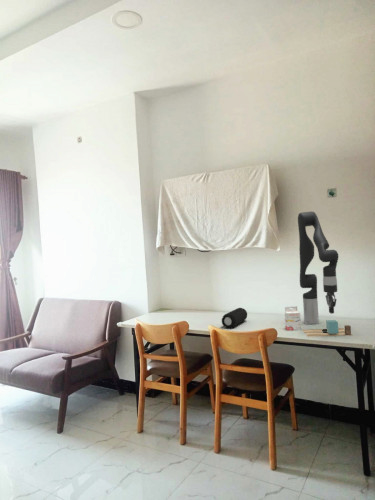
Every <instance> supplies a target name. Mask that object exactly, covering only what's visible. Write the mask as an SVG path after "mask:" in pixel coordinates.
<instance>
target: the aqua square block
mask: <svg viewBox="0 0 375 500" xmlns="http://www.w3.org/2000/svg"><path fill="white" fill-rule="evenodd" d="M325 325H326V328H325V329H327V332H328V333H329V334H331V333H338V328H339V322H338V320H336V319H326V322H325Z"/></svg>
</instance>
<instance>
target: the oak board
mask: <svg viewBox="0 0 375 500" xmlns="http://www.w3.org/2000/svg"><path fill="white" fill-rule="evenodd" d="M323 329H324V328H314V329H313V328H311V329H310V328H309V329H307V328H306V329H302V332H303V333H304V334H305V335H306V336H307V337H308V338H315V337H336V336H340V337H341V336H347V335H346V334H345V327H344V328H343V327H338V333H336V334H334V335H331V334H329V333H323V332H322V330H323ZM350 336H353V334H352V333H351V335H350Z"/></svg>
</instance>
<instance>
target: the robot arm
mask: <svg viewBox="0 0 375 500" xmlns="http://www.w3.org/2000/svg"><path fill="white" fill-rule="evenodd" d="M297 215H298V216H297V224H298V225H297V226H298V238H299V248H298V249H299V285H300V288H301V289H310V290H309V291H306V292H304V293H302V303H303V304H302V305H303V306H302V307H303V321H304V322H303V324H304V325H319V323H320V322H319V321H320V320H319V305H318V304H319V303H318V302H319V300H318V277H317V275H316V274H315V273H308V274H306V271H307V269H308V267H309V265H310V264H311V262H312V260H313V259H314V258H315V246H316V248H317V252H318V257H319V258H318V259H319V260H320V261H321V262H322V263H328V265H325V266H323V267H322V281H323V282H322V283H323V284H322V285H323V292H324V293H326V295H325V299H326V304H327V306H328V312H329V314H334V313H335V307H336V305H337V298H336V295H335V293H337V292H338V279H337V266H338V263H339V262H338V261H339V253H338V251H337V250H335V249H329V248H330V243H329V242H328V239H327V238H326V236H325V235H324V232H323V230H322V227H321V224H320V221H319V218H318V216H317V214H316V212H315V211H306V212H305V211H303V212H299V213H298V214H297ZM307 227H313V229H314V231H313V236H312V237H313V238H312V240H313V241H312V240H311V238H310V237H309V235H308V234H307V230H306V228H307ZM314 244H315V245H314Z"/></svg>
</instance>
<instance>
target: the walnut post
mask: <svg viewBox="0 0 375 500" xmlns="http://www.w3.org/2000/svg"><path fill="white" fill-rule="evenodd" d="M343 326H344V329H345V334H346V335H345V336H352V335H351V334H352V328H351V325H347V324H345V325H343Z"/></svg>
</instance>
